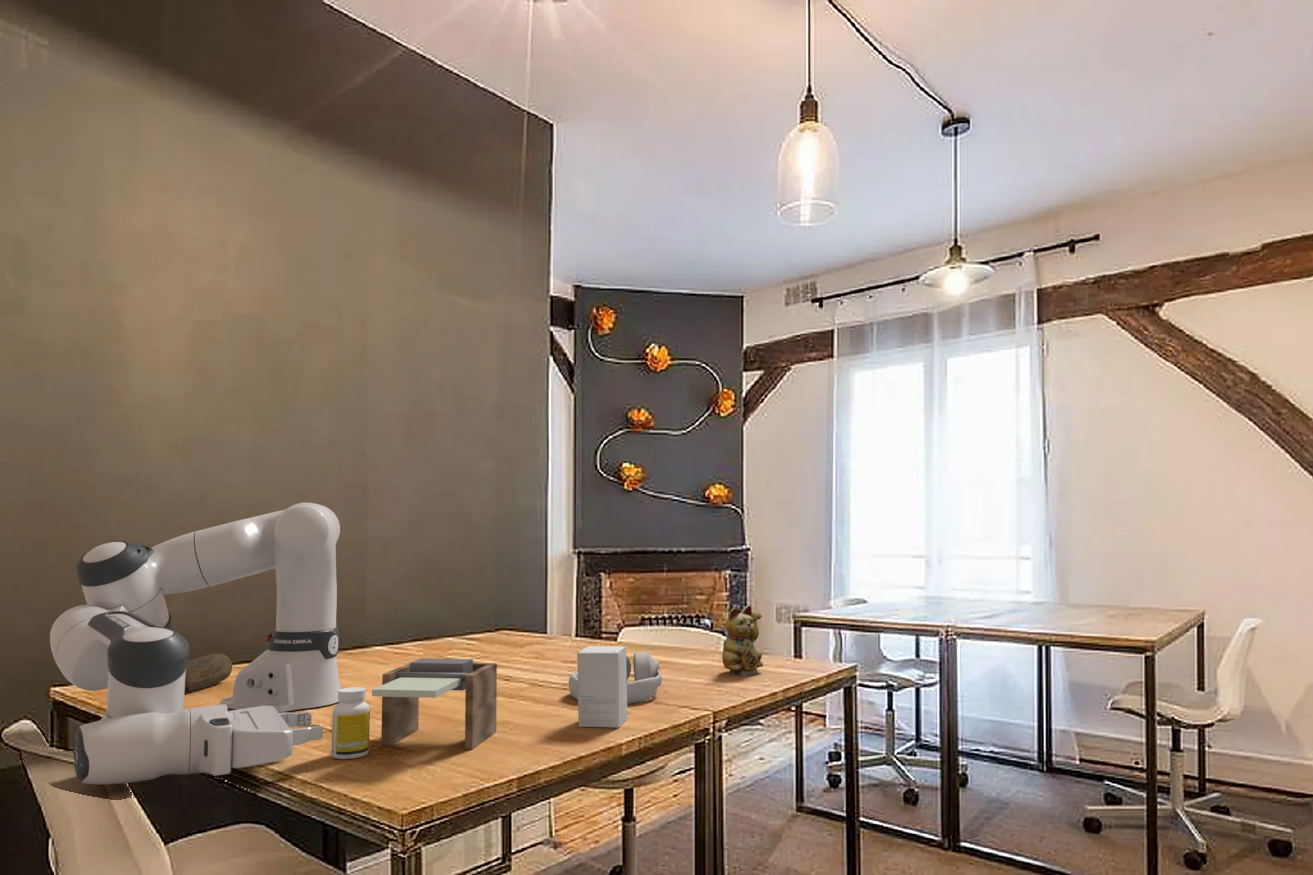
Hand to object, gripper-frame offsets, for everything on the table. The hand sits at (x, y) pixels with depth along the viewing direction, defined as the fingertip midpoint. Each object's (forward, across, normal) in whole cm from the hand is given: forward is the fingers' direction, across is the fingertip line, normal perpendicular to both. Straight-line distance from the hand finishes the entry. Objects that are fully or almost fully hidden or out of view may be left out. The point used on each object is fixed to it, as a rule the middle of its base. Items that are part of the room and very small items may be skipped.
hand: (316, 724), depth 128 cm
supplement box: (+47, +3, -5) cm, 47 cm away
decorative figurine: (+94, -21, -5) cm, 97 cm away
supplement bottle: (+5, 0, -6) cm, 8 cm away
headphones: (+60, -16, -6) cm, 62 cm away
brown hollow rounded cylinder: (-11, -73, -6) cm, 74 cm away
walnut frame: (+19, -2, -5) cm, 20 cm away
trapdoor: (+16, +2, +3) cm, 16 cm away
